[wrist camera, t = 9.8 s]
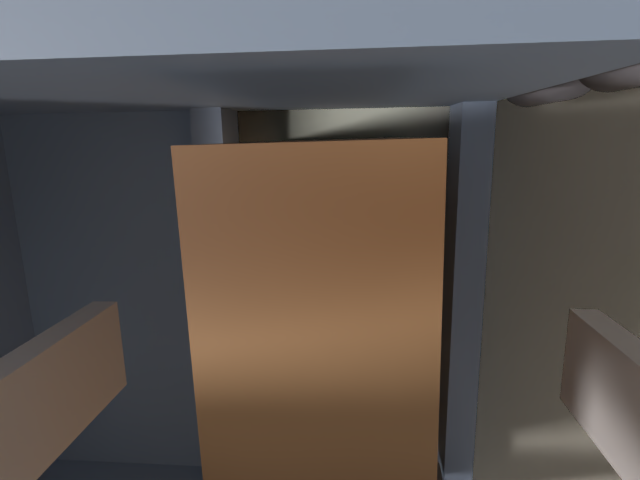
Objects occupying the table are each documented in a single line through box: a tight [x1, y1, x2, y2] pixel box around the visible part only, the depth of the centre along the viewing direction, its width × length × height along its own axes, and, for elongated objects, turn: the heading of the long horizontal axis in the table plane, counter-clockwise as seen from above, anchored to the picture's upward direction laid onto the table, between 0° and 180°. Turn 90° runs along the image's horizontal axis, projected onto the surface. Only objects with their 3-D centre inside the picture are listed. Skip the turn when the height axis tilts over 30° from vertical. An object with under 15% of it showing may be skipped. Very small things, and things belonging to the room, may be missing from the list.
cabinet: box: [0, 0, 640, 480], centre depth 12 cm, size 17×20×11 cm
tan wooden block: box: [171, 138, 447, 480], centre depth 13 cm, size 12×5×10 cm, turn 2°
